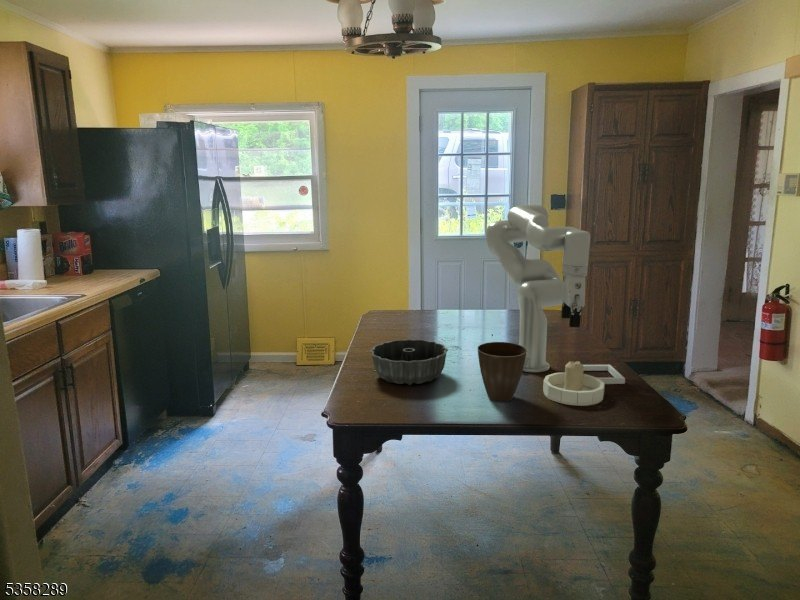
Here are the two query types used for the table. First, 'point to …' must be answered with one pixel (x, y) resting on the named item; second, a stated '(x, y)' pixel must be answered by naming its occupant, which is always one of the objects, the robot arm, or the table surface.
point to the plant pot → (501, 368)
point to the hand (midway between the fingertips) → (570, 322)
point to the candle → (574, 376)
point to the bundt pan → (409, 360)
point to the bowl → (587, 396)
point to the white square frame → (608, 380)
